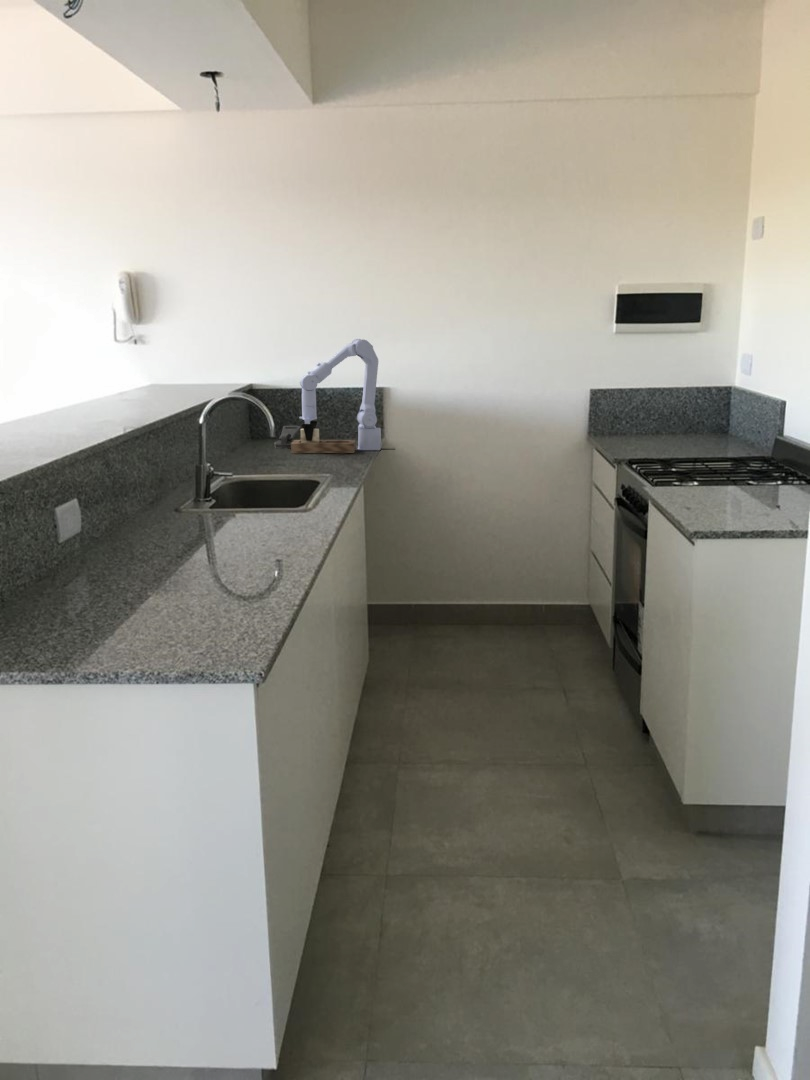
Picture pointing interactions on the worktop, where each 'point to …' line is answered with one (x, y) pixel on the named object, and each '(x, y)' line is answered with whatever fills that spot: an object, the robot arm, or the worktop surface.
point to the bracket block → (314, 439)
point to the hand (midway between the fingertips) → (309, 439)
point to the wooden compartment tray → (324, 446)
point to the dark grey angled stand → (287, 436)
